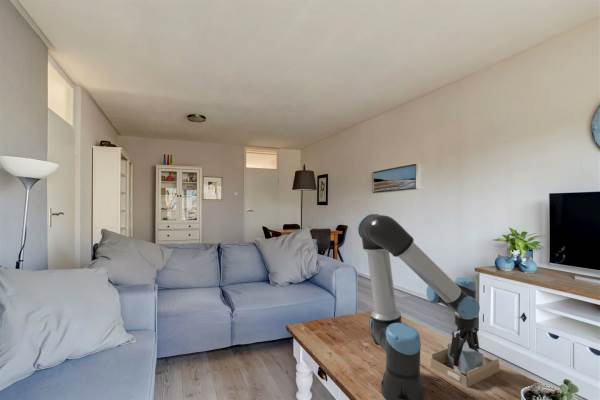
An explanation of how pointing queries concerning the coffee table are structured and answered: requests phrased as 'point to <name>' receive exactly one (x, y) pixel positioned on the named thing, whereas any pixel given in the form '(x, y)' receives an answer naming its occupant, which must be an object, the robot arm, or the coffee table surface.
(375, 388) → the coffee table surface
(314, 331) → the coffee table surface
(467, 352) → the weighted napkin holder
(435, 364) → the wooden tray
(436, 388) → the coffee table surface
